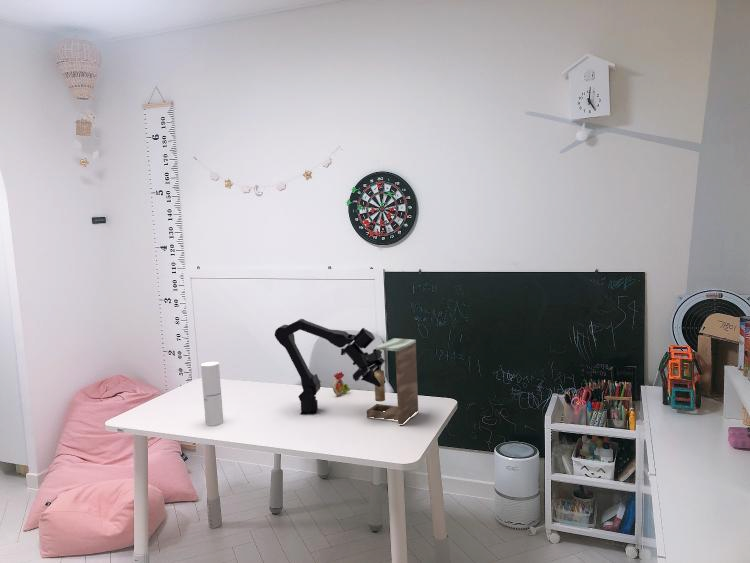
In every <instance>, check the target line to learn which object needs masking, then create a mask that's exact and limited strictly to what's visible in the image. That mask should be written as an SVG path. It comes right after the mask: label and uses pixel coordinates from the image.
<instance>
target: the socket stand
mask: <svg viewBox="0 0 750 563" xmlns="http://www.w3.org/2000/svg"><path fill="white" fill-rule="evenodd" d="M375 349H376V350H380V351H388V352H389V351H391V352H395V369H396V370H395V371H396V376H395V377H396V393H397V394H396V397H397V406H395V405H390V404H389V405H387V404H380V403H376V404H375V405H372V406H371V407H370V408H369V409H366V418H367V417H374V418H384V419H394V420H398V422H397V423H398V424H403V423H404V422H405V421H406V420H407V419H408V418H409V417H411V416H412V415H413V414H414V413H415V412H417V411H418V412H419V397H418V396H419V394H418V393H419V391H418V390H419V389H418V370H417V369H418V368H417V367H418V366H417V365H418V364H417V363H418V362H417V339H410V338H409V339H408V338H396V337H394V338H393V337H392V338H391V339H389V340H387V341H385V342H383V343H381V344H379V345H377V346H375ZM383 411H385V412H383Z"/></svg>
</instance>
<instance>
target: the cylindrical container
mask: <svg viewBox="0 0 750 563" xmlns="http://www.w3.org/2000/svg"><path fill="white" fill-rule="evenodd" d="M200 369H201V382H202V395H203V396H202V397H203V406H204V407H203V408H204V419H205V425H206V426H208V427H216V426H220V425H223V423H224V413H223V412H224V409H223V400H222V398H223V396H222V386H221V385H222V384H221V372H220V371H221V370H220V362H218V361H207V362H203V363H201V364H200Z"/></svg>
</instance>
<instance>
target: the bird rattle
mask: <svg viewBox="0 0 750 563" xmlns="http://www.w3.org/2000/svg"><path fill="white" fill-rule="evenodd" d="M344 376H345V374H344V373H343V371H339V373H338V372H337V373H334V374H333V377H334V378H335V380H334V381H333V384H332V391H333V393H334V394H335V395H336V397H340V396H341V395H342V394H343V393H344V394H345V393H346V394H347V393H348V392H350V391H351V388H350V387H349V386H348V383H344V381H343V380H342V379H343V378H344Z"/></svg>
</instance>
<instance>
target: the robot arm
mask: <svg viewBox="0 0 750 563" xmlns="http://www.w3.org/2000/svg"><path fill="white" fill-rule="evenodd" d="M298 331H303V332H306V333H308V334H311V335H314V336H316V337H319V338H321V339H325V340H326V341H328V342H329V343H330V344H332V345H334V346H335V347H337V348H340V355H341V356H344V355H347V356H348V357H349V359H350V360H351V361H352V365H353V366H357V367H358V368H357V370H356V371H355V372H354V373H353V374H352V379H353V380H354V381H355V382H358V381H359V380H361V381H364V382H366V383H370V384H372V385H374V386H375V385H376V386H378V387H380V386H381V384H380V383H379V381H378V380H377V379H376V377H375V376H374V371H376V370H382V366H383V364H384V363H385V362H386V360H385V359H384V358H383V357H382V353H383V350H376V348H374V349H372V352H371V353H368V352H367V351H363V350H362V349H367V348H368V347H369V346H370V345H371V343H373V342H374V341H375V339H376V337H375V335H374V334H373V333H372V332H371V331H369V330H368V329H366V328H365V327H362V328H361V329H360V330H359V332H358V333H357V334H351V333H348V332H347V331H345V330H340V329H329V328H328V327H324V326H322V325H319V324H316V323H313V322H311V321H308V320H305V319H304V318H300V319H298V320H296V321H294V322H292V323H290V324H283V325H281V326H279V327H278V328H276V329H275V331H274V338H275V339H276V340H277V342H278V343H279V344H280V345H281V346H282V347H283V348H284V349H285V350H286V353H287V354H288V356H289V357H290V360H291V362H292V364H293V365H294V367H295V369H296V371H297V373H298V376H299V377H300V381H301V382H300V383H301V388H302V390H303V391H302V392H300V394H299V395H298V399H299V402H300V410H301V411H300V415H316V413H317V411H319V410H318V409H319V405H318V399H317V393H318V392H319V391H320V389H321V383H322V381H321V380H320V379H319V376H318V374H317V373H315V374H313V373H312V372H311V371H310V369H309V368H308V366H307V365H308V364H307V363H306V361H305V359H304V358H303V355H302V354H301V352H300V350H299V348H298V346H297V344H296V339H295V334H294V333H296V332H298ZM361 377H362V378H361ZM360 378H361V379H360ZM386 383H387V382H386V380H385V378H384V384H385V385H386Z"/></svg>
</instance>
